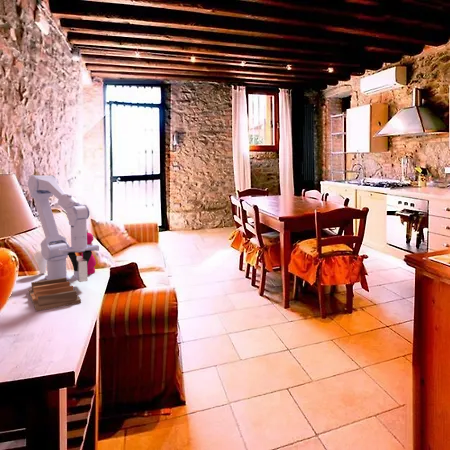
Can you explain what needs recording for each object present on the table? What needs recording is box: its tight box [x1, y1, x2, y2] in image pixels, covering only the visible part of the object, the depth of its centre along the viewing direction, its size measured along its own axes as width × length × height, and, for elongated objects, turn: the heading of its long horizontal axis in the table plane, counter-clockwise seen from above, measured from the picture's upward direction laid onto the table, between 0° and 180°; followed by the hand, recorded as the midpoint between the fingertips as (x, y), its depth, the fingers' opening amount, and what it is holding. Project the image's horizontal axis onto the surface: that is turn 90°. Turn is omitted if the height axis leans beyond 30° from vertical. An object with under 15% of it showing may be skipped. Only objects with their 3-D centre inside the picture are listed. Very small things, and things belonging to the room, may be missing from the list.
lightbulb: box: [33, 249, 47, 275], centre depth 153 cm, size 6×6×11 cm
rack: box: [28, 277, 82, 312], centre depth 127 cm, size 20×14×4 cm
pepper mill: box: [80, 229, 97, 276], centre depth 156 cm, size 7×7×20 cm
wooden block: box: [73, 255, 89, 283], centre depth 138 cm, size 9×3×8 cm, turn 35°
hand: (80, 270), depth 138 cm, fingers closed on wooden block, 3 cm apart
